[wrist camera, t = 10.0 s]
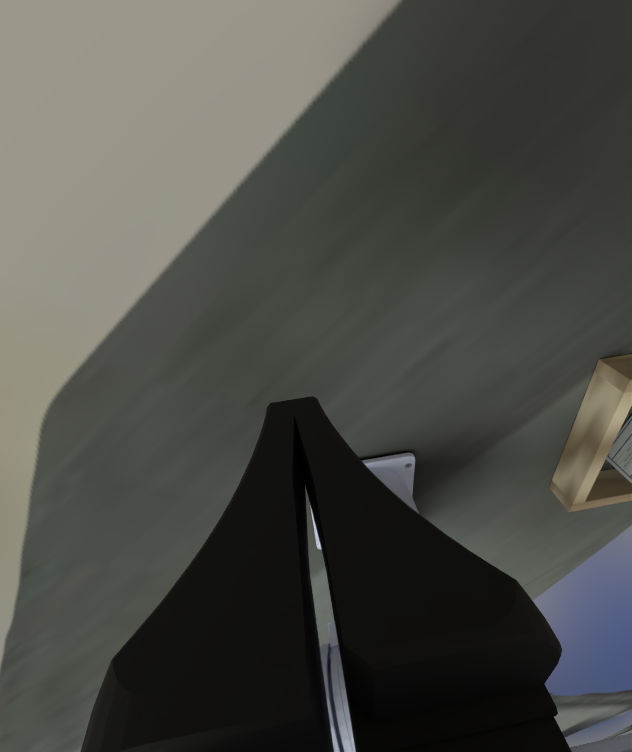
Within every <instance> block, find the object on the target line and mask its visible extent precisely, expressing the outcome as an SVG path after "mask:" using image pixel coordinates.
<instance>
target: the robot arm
mask: <svg viewBox="0 0 632 752" xmlns="http://www.w3.org/2000/svg"><path fill="white" fill-rule="evenodd" d="M408 463H409V464H408ZM414 470H415V457H414V455H413V454H412V453H403V454H397V455H391V456H385V457H380V458H374V459H368V460H362V461H361V460H360V459H359V457H358V456H357V455H356V454H355V453H354V452H353V451H352V449H351V448H350V447H349V446H348V445H347V443H346V442H345V441H344V439H343V438H342V437H341V436H340V434H339V433H338V432H337V430H336V429H335V428H334V426H333V425H332V423H331V422H330V420H329V419H328V417H327V416H326V414H325V413H324V411H323V409H322V408H321V406H320V404H319V402H318V399H317V398H315V397H314V396H312V397H306V398H300V399H293V400H287V401H281V402H274V403H270V404H269V406H268V407H267V412H266V416H265V420H264V424H263V427H262V430H261V433H260V436H259V439H258V442H257V444H256V447H255V450H254V452H253V455H252V457H251V460H250V462H249V464H248V466H247V469H246V471H245V473H244V475H243V477H242V479H241V481H240V484H239V486H238V488H237V490H236V491H235V493H234V495H233V497H232V499H231V501H230V503H229V505H228V506H227V508H226V510H225V511H224V513H223V515H222V517H221V518H220V520H219V522H218V523H217V525H216V526H215V528H214V529H213V531H212V533H211V534H210V536H209V537H208V539H207V540H206V542H205V543H204V545H203V546H202V548H201V549H200V551H199V552H198V554H197V555H196V557H195V558H194V559H193V561H192V562H191V563H190V565H189V566H188V567H187V569H186V570H185V571H184V573H183V574H182V575H181V577H180V578H179V579H178V581H177V582H176V583H175V585H174V586H173V587H172V589H171V590H170V591H169V593H168V594H167V595H166V597H165V598H164V599H163V600H162V602H161V603H160V604H159V605H158V606H157V608H156V609H155V610H154V611H153V612H152V614H151V615H150V616H149V617H148V618H147V619H146V621H145V622H144V623H143V624H142V625H141V626H140V628H139V629H138V630H137V631H136V632H135V633H134V635H133V636H132V637H131V638H130V639H129V640H128V642H127V643H126V644H125V645H124V646H123V647H122V648H121V650H120V651H119V652H118V653H117V654H116V655H115V656H114V658H113V659H112V660H111V663H110V665H109V668H108V670H107V673H106V675H105V678H104V681H103V683H102V686H101V688H100V691H99V694H98V696H97V699H96V702H95V704H94V707H93V710H92V713H91V717H90V721H89V724H88V728H87V731H86V735H85V739H84V742H83V746H82V749H81V752H632V733H631V734H627V735H622V736H618V737H613V738H609V739H605V740H601V741H596V742H592V743H587V744H583V745H579V746H574V747H570V748H569V746H568V744H567V742H566V740H565V738H564V736H563V734H562V732H561V730H560V728H559V726H558V724H557V722H556V720H555V718H554V716H556V715H557V714H558V712H557V708H556V706H555V704H554V702H553V700H552V698H551V696H550V694H549V692H548V690H547V689H546V687H545V685H544V683H545V682H546V680H547V679H548V677H549V676H550V674H551V673H552V671H553V670H554V669H555V667H556V666H557V664H558V661H559V659H560V656H561V652H562V648H561V645H560V643H559V641H558V639H557V637H556V636H555V634H554V632H553V630H552V629H551V627H550V625H549V624H548V622H547V621H546V619H545V617H544V616H543V615H542V613H541V612H540V611H539V609H538V608H537V607H536V605H535V604H534V602H533V601H532V600H531V598H530V597H529V596H528V594H527V593H526V592H525V590H524V589H523V588H522V587H521V585H520V584H519V583H518V581H517V580H515V579H514V578H512V577H510V576H509V575H507V574H505V573H504V572H502V571H501V570H499V569H497V568H496V567H494V566H492V565H491V564H489V563H488V562H486V561H485V560H483V559H481V558H480V557H478V556H477V555H475V554H474V553H472V552H471V551H469V550H468V549H466V548H465V547H463V546H462V545H460V544H459V543H458V542H456V541H455V540H453V539H452V538H450V537H449V536H447V535H446V534H445V533H443V532H442V531H441V530H439V529H438V528H437V527H435V526H434V525H433V524H431V523H430V522H429V521H428V520H426V519H425V518H424V517H422V516H421V515H420V514H419V512H418V510H417V507H416V505H415V503H414V500H413V498H412V494H413V482H414ZM305 485H306V489H307V493H308V497H309V501H310V506H311V513H312V519H313V525H314V532H315V538H316V544H317V548H319V549H322V553H323V557H324V562H325V567H326V572H327V578H328V584H329V590H330V596H331V602H332V608H333V615H334V620H333V621H330V622H328V623H327V626H328V632H329V639H330V643H327V644H323V645H322V646H321V647H320V646H319V639H318V631H317V624H316V616H315V609H314V601H313V594H312V586H311V579H310V569H309V557H308V536H307V514H306V493H305Z"/></svg>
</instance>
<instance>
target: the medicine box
mask: <svg viewBox="0 0 632 752" xmlns="http://www.w3.org/2000/svg"><path fill="white" fill-rule="evenodd" d="M606 460H607V461H608V462H609V463H610V464H611V465H612V466H613V467H615V468H616V469H617V470H618V471H619V472H620V473H621V474H622V475H623V476H624V477H625V478H626V479H628V480H629V481H630V482H631V483H632V415H631V417H630V418H629V419H628V421H627V422H626V423H625V425H624V426H623V427H622V429H621V430H620V431H619V433H618V435H617V437H616V439H615V441H614V443H613V445H612V447H611V449H610V451H609V453H608V455H607V457H606Z"/></svg>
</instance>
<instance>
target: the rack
mask: <svg viewBox="0 0 632 752" xmlns="http://www.w3.org/2000/svg"><path fill="white" fill-rule="evenodd" d="M631 406H632V354H629V355H623V356H617V357H610V358H604V359H599V360H598V363H597V365H596V368H595V371H594V373H593V376H592V378H591V381H590V383H589V386H588V389H587V391H586V394H585V396H584V399H583V401H582V404H581V407H580V409H579V412H578V414H577V417H576V419H575V422H574V425H573V427H572V430H571V432H570V435H569V437H568V440H567V443H566V445H565V448H564V450H563V453H562V455H561V458H560V461H559V463H558V466H557V468H556V471H555V473H554V476H553V478H552V481H551V484H550V486H549V488H550V490H551V491H552V492H553V493H554V494H555V496H556V497H557V498H558V499H559V500H560V502H561V503H562V504H563V505H564V506H565V508H566V509H567V510H568V511H569V512H573V511H578V510H583V509H589V508H594V507H600V506H605V505H610V504H616V503H621V502H626V501H632V483H631V482H630V481H629V480H628V479H626V478H625V477H624V476H623V475H622V474H621V473H620V472H619V471H618V470H617V469H616V468H615V469H609V470H604V471H600V470H601V468H602V466H603V464H604V461H605V459H606V457H607V455H608V453H609V451H610V449H611V447H612V445H613V443H614V441H615V439H616V437H617V435H618V433H619V431H620V429H621V426H622V424H623V422H624V420H625V418H626V416H627V414H628V412H629V410H630V408H631Z"/></svg>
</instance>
